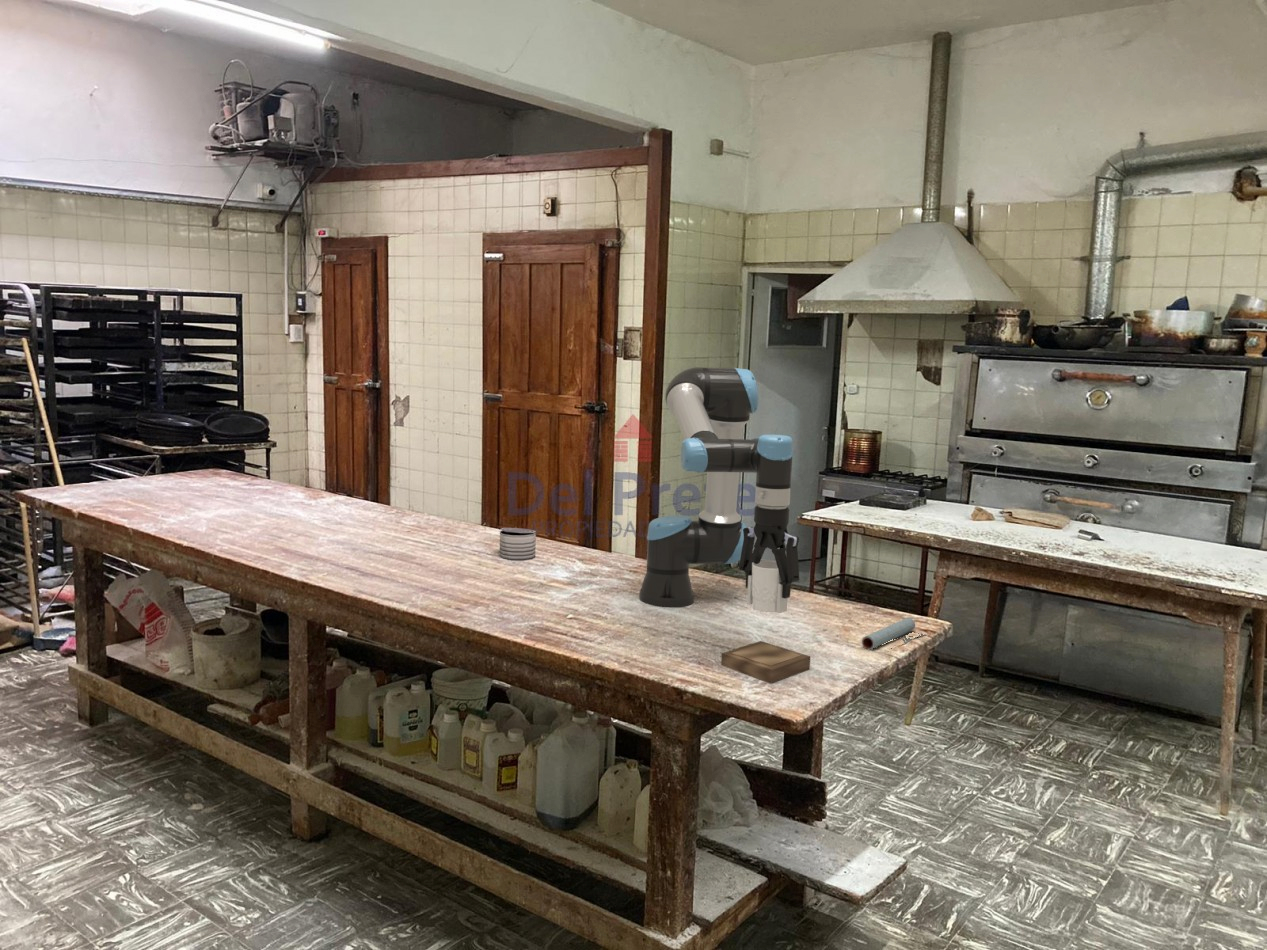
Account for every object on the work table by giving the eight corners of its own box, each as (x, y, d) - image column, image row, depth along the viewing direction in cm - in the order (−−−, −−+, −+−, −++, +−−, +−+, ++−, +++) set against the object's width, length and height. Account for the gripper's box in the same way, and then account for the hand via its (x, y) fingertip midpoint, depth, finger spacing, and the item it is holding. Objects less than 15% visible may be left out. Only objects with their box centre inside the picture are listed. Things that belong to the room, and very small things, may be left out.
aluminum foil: (902, 629, 245) (903, 616, 245) (927, 634, 241) (928, 621, 241) (860, 648, 229) (861, 634, 228) (886, 654, 224) (887, 640, 224)
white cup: (745, 610, 207) (748, 566, 206) (754, 601, 214) (756, 558, 213) (781, 615, 204) (783, 570, 203) (788, 606, 212) (791, 562, 210)
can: (492, 564, 299) (492, 527, 297) (521, 560, 307) (521, 523, 305) (513, 571, 291) (513, 533, 289) (542, 566, 298) (543, 529, 297)
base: (721, 666, 211) (721, 652, 211) (760, 653, 221) (760, 640, 220) (771, 683, 201) (771, 669, 201) (809, 669, 211) (810, 655, 210)
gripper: (725, 500, 210) (720, 600, 214) (799, 515, 196) (793, 621, 199) (746, 497, 216) (741, 594, 219) (821, 511, 201) (814, 615, 204)
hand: (766, 607), depth 209 cm, fingers closed on white cup, 8 cm apart
